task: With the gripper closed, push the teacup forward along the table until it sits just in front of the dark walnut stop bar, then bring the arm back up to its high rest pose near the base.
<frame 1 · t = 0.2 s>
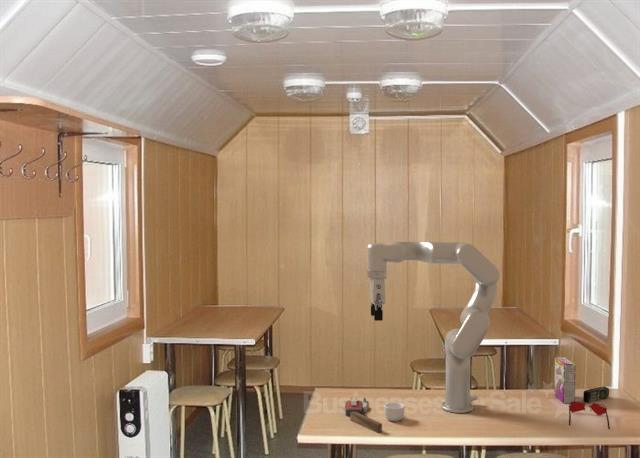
hand: (376, 317, 259), 36 cm above the table, tool pointing down, fingers open, 9 cm apart
stop bar: (365, 425, 242), on the table
teacup: (394, 418, 250), on the table
candy bar box: (564, 400, 272), on the table
mobile phone: (597, 400, 272), on the table
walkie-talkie: (356, 410, 261), on the table
glasses: (588, 421, 248), on the table
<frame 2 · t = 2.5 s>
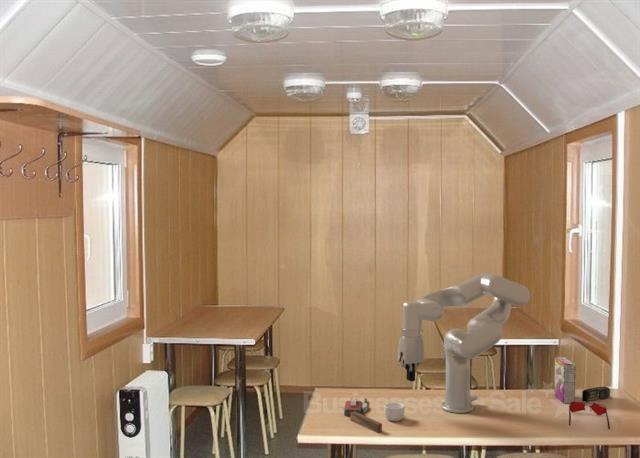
hand: (410, 380, 255), 13 cm above the table, tool pointing down, fingers closed
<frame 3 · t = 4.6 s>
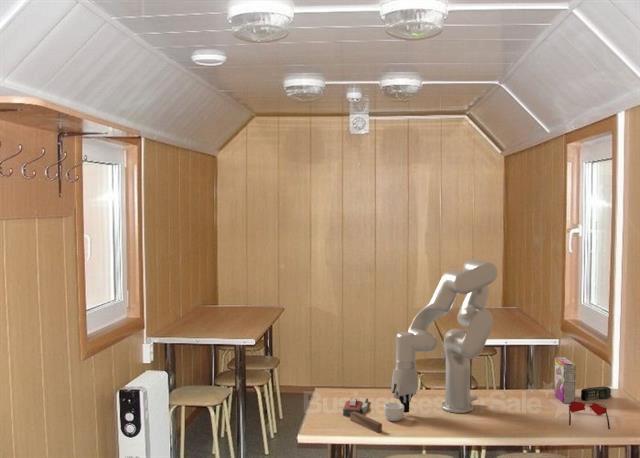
hand: (404, 411, 254), 1 cm above the table, tool pointing down, fingers closed
teacup: (394, 418, 250), on the table, touching gripper
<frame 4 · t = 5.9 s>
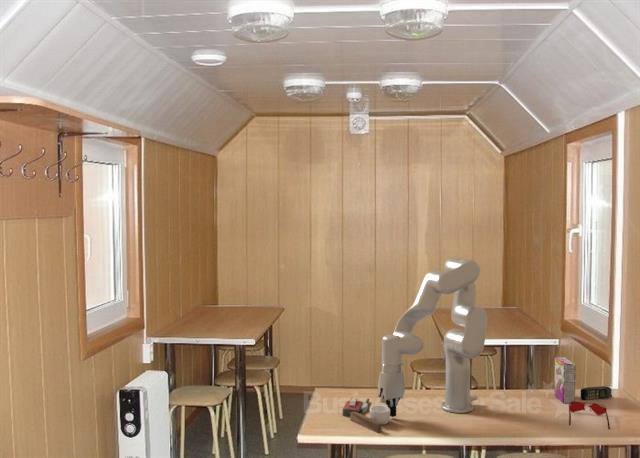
hand: (391, 415, 250), 1 cm above the table, tool pointing down, fingers closed
teacup: (380, 422, 246), on the table, touching gripper
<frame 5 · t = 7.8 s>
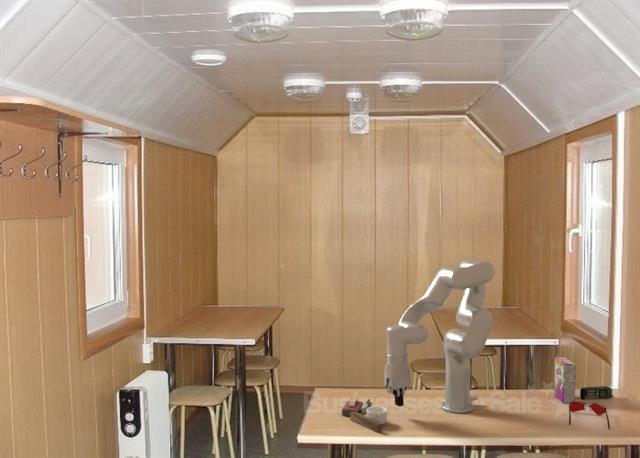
hand: (399, 405, 251), 5 cm above the table, tool pointing down, fingers closed
teacup: (377, 423, 246), on the table
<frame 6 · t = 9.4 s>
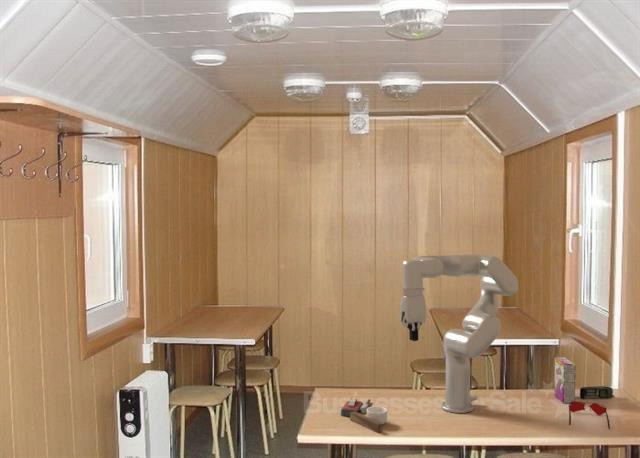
hand: (413, 340, 249), 30 cm above the table, tool pointing down, fingers closed
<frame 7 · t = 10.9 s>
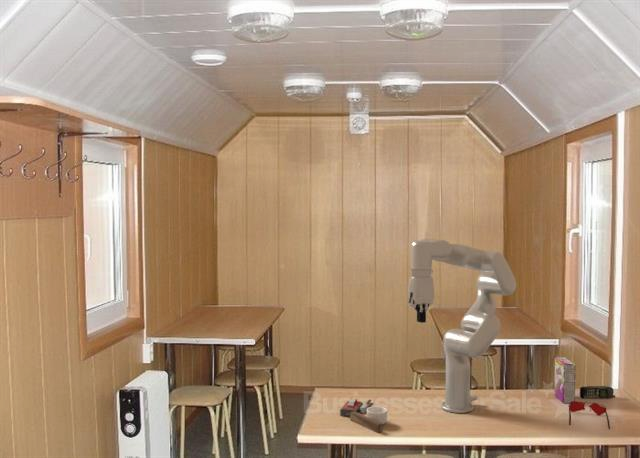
hand: (421, 321, 248), 37 cm above the table, tool pointing down, fingers closed
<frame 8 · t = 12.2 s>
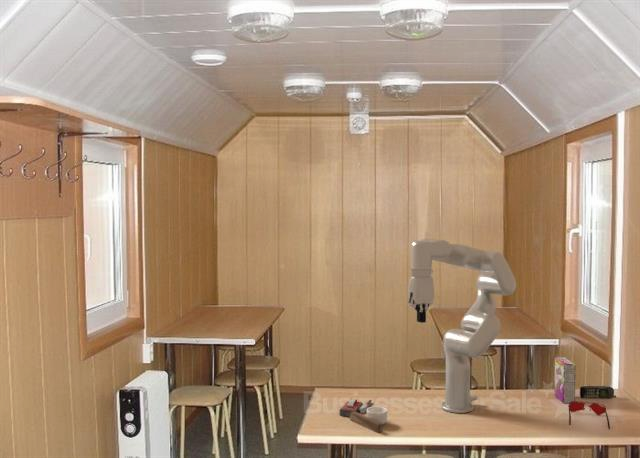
hand: (421, 321, 248), 37 cm above the table, tool pointing down, fingers closed
at the end: teacup inside the target area (0.0 cm from its centre), on the table; teacup tilted 0°; teacup moved 8.5 cm from its start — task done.
